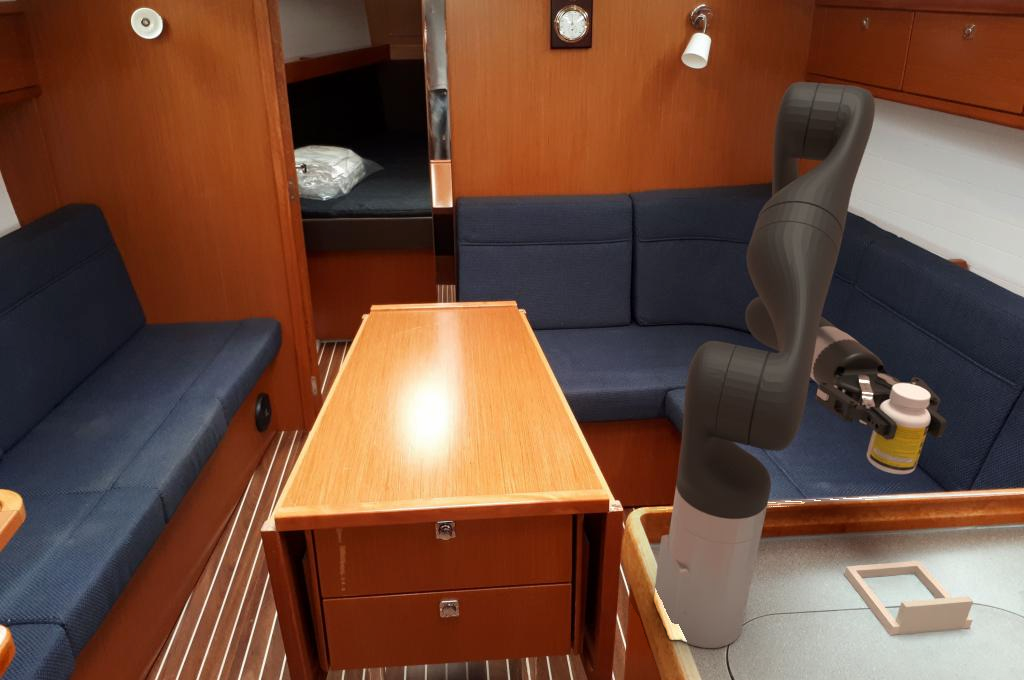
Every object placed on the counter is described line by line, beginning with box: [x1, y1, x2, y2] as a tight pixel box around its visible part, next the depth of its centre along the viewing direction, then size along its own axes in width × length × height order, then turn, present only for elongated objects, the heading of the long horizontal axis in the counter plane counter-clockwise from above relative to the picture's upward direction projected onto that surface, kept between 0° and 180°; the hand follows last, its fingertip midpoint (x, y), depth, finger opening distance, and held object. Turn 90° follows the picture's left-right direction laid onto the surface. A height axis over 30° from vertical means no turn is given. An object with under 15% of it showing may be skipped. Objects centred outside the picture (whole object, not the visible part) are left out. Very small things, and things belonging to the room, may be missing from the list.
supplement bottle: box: [866, 382, 931, 475], centre depth 86 cm, size 5×5×10 cm
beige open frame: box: [843, 560, 974, 636], centre depth 86 cm, size 10×10×4 cm
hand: (917, 431), depth 83 cm, fingers closed on supplement bottle, 5 cm apart
